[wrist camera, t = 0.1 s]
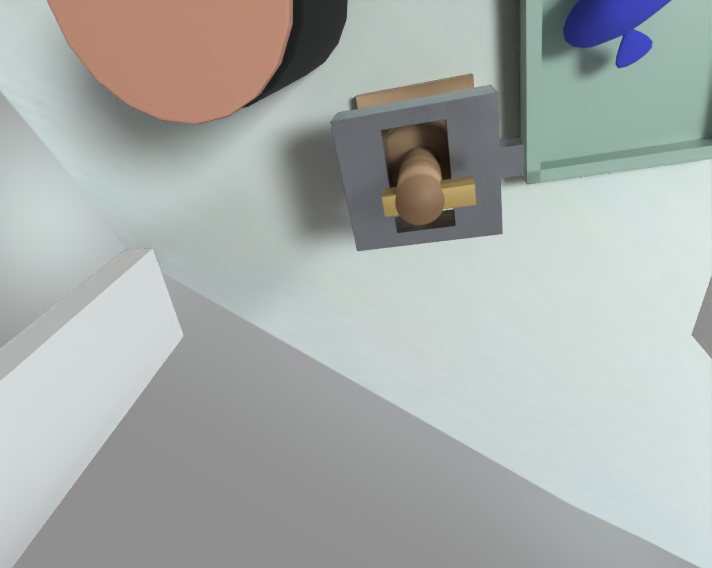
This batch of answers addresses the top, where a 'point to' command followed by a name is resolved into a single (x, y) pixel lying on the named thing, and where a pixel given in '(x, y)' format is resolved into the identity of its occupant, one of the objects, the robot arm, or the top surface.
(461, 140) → the gray rectangular frame
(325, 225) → the top surface
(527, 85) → the tray
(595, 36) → the fish toy
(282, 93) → the top surface
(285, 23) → the coffee jar
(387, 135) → the handle
